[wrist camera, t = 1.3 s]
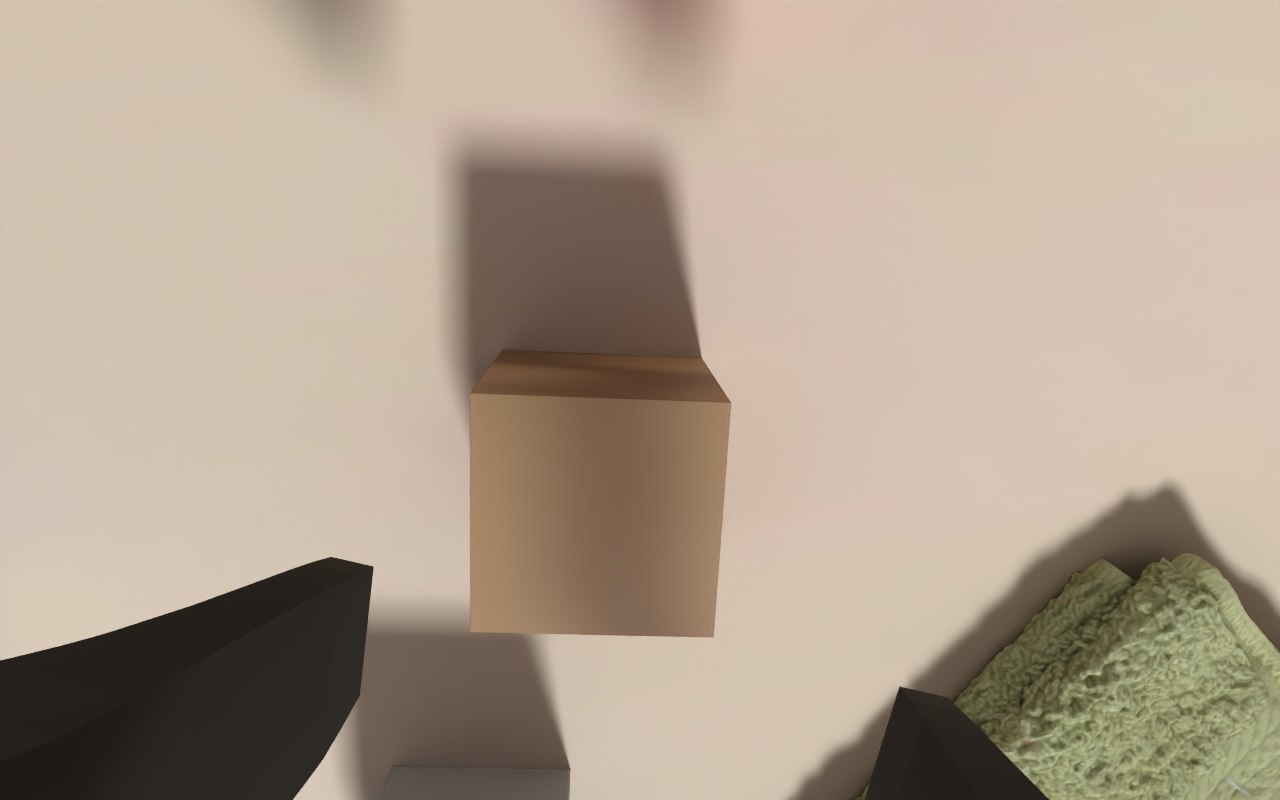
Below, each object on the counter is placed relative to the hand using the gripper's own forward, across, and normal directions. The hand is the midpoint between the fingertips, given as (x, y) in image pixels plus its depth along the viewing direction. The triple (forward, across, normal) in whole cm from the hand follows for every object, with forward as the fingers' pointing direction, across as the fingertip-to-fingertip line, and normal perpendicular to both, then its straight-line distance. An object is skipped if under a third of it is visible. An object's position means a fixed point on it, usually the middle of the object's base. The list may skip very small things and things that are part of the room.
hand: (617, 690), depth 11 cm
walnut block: (+10, +2, 0) cm, 10 cm away
